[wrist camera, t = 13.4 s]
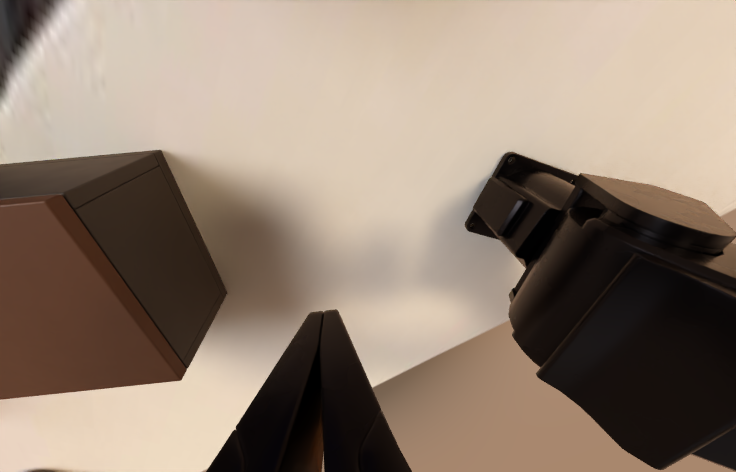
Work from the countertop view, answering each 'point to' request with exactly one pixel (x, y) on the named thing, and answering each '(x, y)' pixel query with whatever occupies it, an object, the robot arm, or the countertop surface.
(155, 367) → the brown square block
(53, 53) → the countertop surface
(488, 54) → the countertop surface
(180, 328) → the storage box
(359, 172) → the countertop surface
